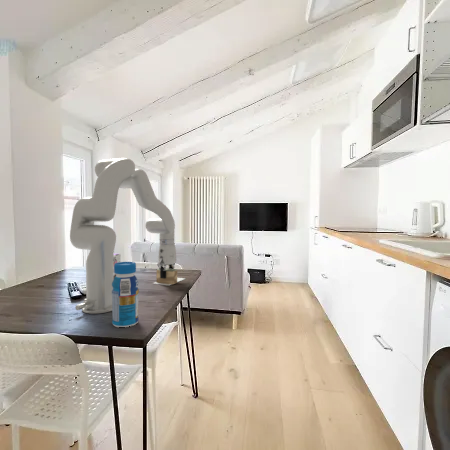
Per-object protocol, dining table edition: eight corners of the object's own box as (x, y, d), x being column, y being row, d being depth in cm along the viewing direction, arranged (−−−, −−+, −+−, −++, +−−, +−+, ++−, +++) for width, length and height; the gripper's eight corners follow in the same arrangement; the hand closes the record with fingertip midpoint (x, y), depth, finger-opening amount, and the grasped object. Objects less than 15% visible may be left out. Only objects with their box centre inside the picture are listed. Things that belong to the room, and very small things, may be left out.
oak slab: (173, 284, 148) (173, 270, 147) (156, 282, 151) (156, 269, 151) (177, 282, 151) (177, 269, 151) (161, 280, 155) (161, 267, 155)
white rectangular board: (169, 285, 146) (169, 285, 146) (152, 283, 150) (152, 283, 150) (185, 279, 161) (185, 278, 161) (170, 277, 165) (170, 276, 165)
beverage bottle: (106, 326, 94) (105, 264, 93) (123, 317, 102) (123, 260, 101) (127, 330, 91) (127, 266, 90) (144, 320, 99) (143, 262, 98)
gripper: (163, 244, 141) (163, 281, 142) (182, 241, 157) (182, 274, 158) (150, 243, 144) (150, 279, 145) (170, 240, 160) (170, 273, 161)
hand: (167, 276), depth 151 cm, fingers open, 6 cm apart
